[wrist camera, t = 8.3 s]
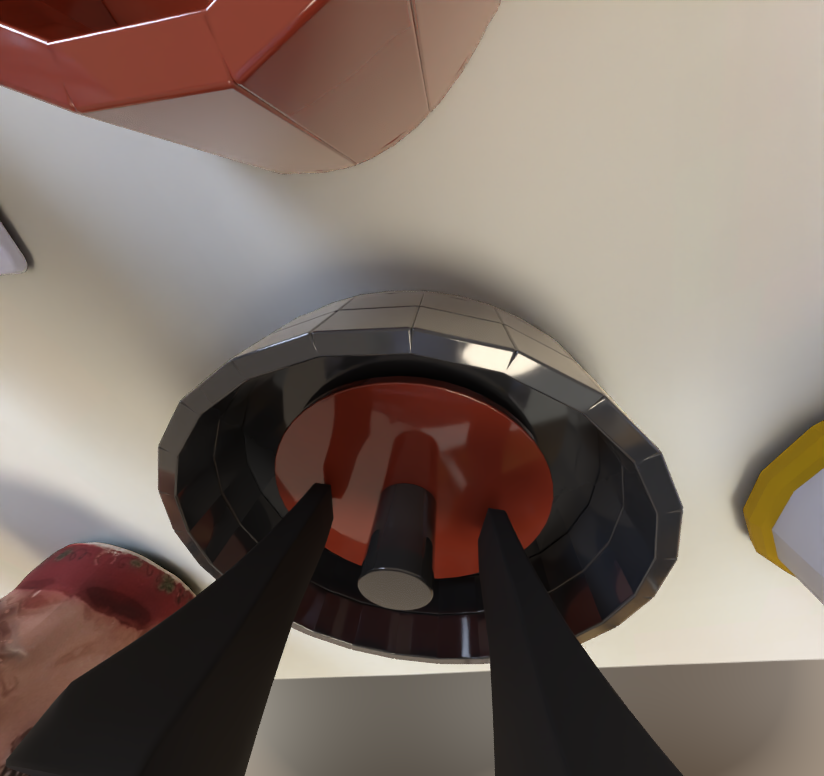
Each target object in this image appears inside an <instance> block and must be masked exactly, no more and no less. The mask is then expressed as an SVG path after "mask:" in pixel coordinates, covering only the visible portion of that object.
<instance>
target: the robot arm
mask: <svg viewBox="0 0 824 776" xmlns="http://www.w3.org/2000/svg"><path fill="white" fill-rule="evenodd" d="M26 269H27V262H26V260H25V258H24V256H23V254H22V253H21V251H20V250H19V248H18V247H17V245H16V244H15V242H14V241H13V239H12V238H11V236H10V235H9V233H8V232H7V230H6V229H5V227H4V226H3V224H2V223H1V221H0V275H9V274H18V273H23V272H26ZM333 519H334V516H333V505H332V493H331V485H328V484H321V483H315V484H313V485H312V486H311V488H310V489H309V490H308V491H307V492H306V493H305V495H304V496H303V497H302V498H301V499H300V500H299V501H298V502H297V504H296V505H295V506H294V507H293V508H292V509H291V510H290V511H289V512H288V513H287V514H286V515H285V517H284V518H283V519H282V520H281V521H280V522H279V523H278V524H277V525H276V526H275V527H274V528H273V529H272V530H271V531H270V532H269V533H268V534H267V535H266V536H265V537H264V538H263V539H262V540H261V541H260V542H259V543H257V544H256V545H255V546H254V547H253V548H252V549H251V550H250V551H249V552H248V553H247V554H246V555H245V556H244V557H243V558H241V559H240V560H239V561H238V562H237V563H236V564H235V565H234V566H232V567H231V568H230V569H229V570H228V571H227V572H225V573H224V574H223V575H222V576H221V577H219V578H218V579H217V580H216V581H215V582H213V583H212V584H211V585H210V586H208V587H207V588H206V589H205V590H203V591H202V592H201V593H199V594H198V595H197V596H196V597H194V598H193V599H192V600H191V601H189V602H188V603H187V604H185V605H184V606H183V607H181V608H180V609H179V610H177V611H176V612H174V613H173V614H172V615H170V616H169V617H167V618H166V619H165V620H163V621H162V622H160V623H159V624H158V625H156V626H155V627H153V628H152V629H151V630H149V631H148V632H146V633H145V634H144V635H142V636H141V637H139V638H138V639H136V640H135V641H133V642H132V643H131V644H129V645H128V646H126V647H124V648H123V649H121V650H120V651H118V652H117V653H115V654H114V655H112V656H111V657H109V658H107V659H106V660H104V661H103V662H101V663H100V664H98V665H97V666H95V667H94V668H92V669H91V670H89V671H87V672H86V673H84V674H83V675H81V676H80V677H78V678H77V679H75V680H73V681H72V682H71V683H70V684H69V685H68V686H67V688H66V689H65V690H64V691H63V692H62V693H61V694H60V695H59V696H58V697H57V699H56V700H55V701H54V702H53V703H52V704H51V706H50V707H49V708H48V709H47V711H46V712H45V713H44V714H43V716H42V717H41V718H40V719H39V720H38V722H37V723H36V724H35V725H34V727H33V728H32V729H31V730H30V731H29V733H28V734H27V735H26V736H25V738H24V739H23V740H22V741H21V742H20V744H19V745H18V746H17V747H16V749H15V750H14V751H13V752H12V753H11V755H10V756H9V757H8V758H7V760H6V765H5V766H6V767H8V768H10V769H13V770H16V771H19V772H22V773H25V774H28V775H31V776H244V775H245V772H246V769H247V765H248V762H249V758H250V755H251V751H252V748H253V745H254V741H255V738H256V735H257V731H258V728H259V725H260V721H261V718H262V715H263V712H264V709H265V706H266V702H267V699H268V696H269V693H270V689H271V686H272V683H273V680H274V677H275V674H276V671H277V668H278V665H279V662H280V659H281V656H282V653H283V650H284V647H285V644H286V641H287V638H288V635H289V632H290V629H291V626H292V623H293V621H294V618H295V616H296V613H297V610H298V608H299V606H300V603H301V601H302V599H303V596H304V594H305V592H306V589H307V587H308V585H309V582H310V580H311V578H312V575H313V573H314V571H315V568H316V566H317V564H318V561H319V559H320V557H321V554H322V552H323V550H324V547H325V545H326V541H327V538H328V535H329V532H330V529H331V525H332V522H333ZM478 562H479V575H480V583H481V591H482V598H483V605H484V613H485V620H486V628H487V635H488V643H489V653H490V668H491V684H492V685H491V686H492V706H493V728H494V754H495V755H494V756H495V776H683V775H682V774H681V772H680V771H679V770H678V769H677V768H676V767H675V765H674V764H673V763H672V762H671V761H670V760H669V758H668V757H667V756H666V755H665V753H664V752H663V751H662V750H661V749H660V747H659V746H658V745H657V744H656V743H655V741H654V740H653V739H652V738H651V736H650V735H649V734H648V733H647V731H646V730H645V729H644V728H643V726H642V725H641V724H640V723H639V721H638V720H637V719H636V718H635V716H634V715H633V714H632V713H631V711H629V709H628V708H627V706H626V705H625V704H624V702H623V701H622V700H621V698H620V697H619V696H618V694H617V693H616V692H615V690H614V689H613V688H612V686H611V685H610V684H609V682H608V681H607V680H606V678H605V677H604V676H603V675H602V673H601V672H600V671H599V669H598V668H597V667H596V665H595V664H594V662H593V661H592V660H591V658H590V657H589V655H588V654H587V652H586V651H585V650H584V648H583V647H582V645H581V644H580V642H579V641H578V639H577V638H576V636H575V635H574V633H573V632H572V630H571V629H570V628H569V626H568V624H567V623H566V621H565V620H564V618H563V617H562V615H561V614H560V612H559V610H558V609H557V607H556V606H555V604H554V602H553V601H552V599H551V597H550V596H549V594H548V592H547V591H546V589H545V587H544V585H543V584H542V582H541V580H540V578H539V577H538V575H537V573H536V571H535V569H534V567H533V566H532V564H531V562H530V560H529V558H528V556H527V554H526V552H525V551H524V549H523V547H522V545H521V543H520V541H519V539H518V536H517V534H516V532H515V530H514V528H513V526H512V524H511V522H510V519H509V517H508V515H507V513H506V511H505V510H499V509H492V508H488V511H487V514H486V517H485V520H484V523H483V526H482V529H481V532H480V535H479V538H478Z"/></svg>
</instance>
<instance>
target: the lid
mask: <svg viewBox="0 0 824 776" xmlns="http://www.w3.org/2000/svg"><path fill="white" fill-rule="evenodd" d="M274 472H275V479H276V485H277V488H278V491H279V495H280V497H281V499H282V501H283V503H284V505H285V507H286V509H287V510H288V512H289V511H290V510H291V509H292V508H293V507H294V506H295V505H296V504H297V502H298V501H299V500H300V499H301V498H302V497H303V496H304V495H305V493H306V492H307V491H308V490H309V489H310V488H311V486H312V485H313V484H315V483H321V484H328V485H331V493H332V505H333V516H334V519H333V522H332V525H331V529H330V532H329V535H328V538H327V541H326V545H325V548H327V549H328V550H330V551H331V552H333V553H335V554H337V555H338V556H340V557H342V558H344V559H346V560H348V561H351V562H353V563H355V564H357V565H360V566H361V570H360V574H359V578H358V588H359V591H360V592H361V594H362V595H363V596H364V597H365V598H367V599H368V600H369V601H371V602H373V603H375V604H377V605H379V606H382V607H386V608H390V609H395V610H414V609H418V608H421V607H424V606H426V605H427V604H429V603H430V601H431V600H432V598H433V595H434V579H437V578H452V577H460V576H465V575H471V574H475V573H478V572H479V562H478V538H479V535H480V532H481V529H482V526H483V523H484V520H485V517H486V514H487V511H488V508H492V509H499V510H505V511H506V513H507V515H508V517H509V519H510V522H511V524H512V526H513V528H514V530H515V532H516V534H517V536H518V539H519V541H520V543H521V545H522V547H523V549H524V550H525V549H526V548H527V547H528V546H529V545H530V544H532V542H533V541H534V540H535V539H536V538H537V537H538V535H539V534H540V533H541V531H542V529H543V528H544V526H545V525H546V523H547V520H548V518H549V515H550V512H551V509H552V503H553V480H552V476H551V472H550V468H549V466H548V463H547V461H546V459H545V456H544V454H543V452H542V450H541V447H540V446H539V444H538V443H537V441H536V440H535V438H534V437H533V435H532V434H531V432H530V431H529V430H528V429H527V428H526V427H525V426H524V425H523V424H522V423H521V422H520V421H519V420H518V419H517V418H516V417H515V416H513V415H512V414H511V413H510V412H508V411H507V410H506V409H505V408H503V407H502V406H500V405H498V404H497V403H495V402H493V401H492V400H490V399H489V398H487V397H485V396H483V395H481V394H478V393H476V392H474V391H472V390H469V389H467V388H465V387H461V386H458V385H455V384H452V383H448V382H445V381H440V380H435V379H429V378H424V377H411V376H386V377H375V378H370V379H364V380H358V381H355V382H352V383H349V384H346V385H342V386H339V387H337V388H335V389H333V390H331V391H329V392H327V393H325V394H322V395H321V396H319V397H318V398H317V399H315V400H314V401H312V402H311V403H309V404H308V405H307V406H306V407H305V408H304V409H303V410H302V411H301V412H300V413H299V414H298V415H297V416H296V417H295V418H294V420H293V421H292V422H291V424H290V425H289V426H288V428H287V429H286V431H285V432H284V434H283V436H282V438H281V440H280V442H279V444H278V448H277V452H276V456H275V469H274Z"/></svg>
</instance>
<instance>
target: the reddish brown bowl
mask: <svg viewBox="0 0 824 776" xmlns="http://www.w3.org/2000/svg"><path fill="white" fill-rule="evenodd" d="M500 3H501V0H0V86H3V87H5V88H8V89H11V90H13V91H16V92H19V93H21V94H24V95H27V96H30V97H32V98H35V99H38V100H40V101H43V102H46V103H48V104H51V105H54V106H57V107H59V108H62V109H65V110H67V111H70V112H73V113H76V114H79V115H82V116H86V117H89V118H93V119H96V120H99V121H103V122H106V123H110V124H113V125H116V126H120V127H123V128H126V129H130V130H133V131H137V132H140V133H143V134H147V135H150V136H154V137H157V138H160V139H164V140H167V141H170V142H174V143H177V144H181V145H184V146H187V147H191V148H194V149H197V150H201V151H204V152H208V153H211V154H214V155H218V156H221V157H225V158H228V159H231V160H235V161H238V162H241V163H245V164H248V165H252V166H255V167H258V168H262V169H265V170H269V171H272V172H275V173H279V174H280V173H281V174H292V173H325V172H330V171H335V170H339V169H344V168H349V167H351V166H356V165H357V164H360V163H361V162H364V161H367V160H369V159H372V158H373V157H375V156H377V155H378V154H380V153H382V152H383V151H385V150H387V149H389V148H390V147H392V146H394V145H395V144H396V143H398V142H399V141H400V140H401V139H403V138H404V137H405V136H406V135H407V134H409V133H410V132H411V131H412V130H414V129H415V128H416V127H417V126H418V125H419V124H420V123H421V122H422V121H423V120H424V119H425V118H426V117H427V116H428V115H429V114H430V112H432V111H433V109H434V108H435V107H436V106H437V105H438V104H439V103H440V102H441V100H442V99H443V98H444V96H445V95H446V93H447V92H448V91H449V89H450V88H451V87H452V85H453V84H454V83H455V81H456V80H457V78H458V77H459V76H460V74H461V73H462V71H463V70H464V68H465V66H466V64H467V63H468V61H469V59H470V58H471V56H472V54H473V52H474V51H475V49H476V47H477V45H478V44H479V42H480V40H481V39H482V37H483V35H484V32H485V30H486V28H487V26H488V24H489V22H490V21H491V19H492V18H493V16H494V15H495V13H496V12H497V10H498V6H499V5H500Z"/></svg>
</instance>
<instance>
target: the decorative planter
mask: <svg viewBox="0 0 824 776" xmlns="http://www.w3.org/2000/svg"><path fill="white" fill-rule="evenodd" d="M194 597H196V595H195V594H194V592H192V591H191V589H190V588H189V587H188V586H187V585H185V584H184V583H183V582H182V581H181V580H180V579H179V578H178V577H176V576H175V575H173V574H172V573H170V572H169V571H167V570H165V569H163V568H162V567H160V566H159V565H157V564H156V563H154V562H152V561H151V560H149V559H147V558H146V557H144V556H142V555H140V554H137V553H135V552H132V551H130V550H127V549H124V548H120V547H117V546H113V545H110V544H103V543H99V542H91V543H75V544H71V545H68V546H66V547H64V548H62V549H60V550H59V551H57V552H55V553H54V554H53V555H51V556H50V557H48V558H47V559H46V560H45V561H44V562H42V563H41V564H40V565H39V566H37V567H36V568H35V569H34V570H33V571H31V572H30V573H29V574H28V575H27V576H26V577H25V578H24V579H23V581H22V582H21V583H20V584H19V585H18V586H17V587H16V588H15V589H14V590H13V591H12V592H10V593H9V594H8V595H6V596H5V597H3V598H2V599H0V776H31V775H28V774H25V773H22V772H19V771H16V770H13V769H10V768H8V767H6V766H5V765H6V760H7V758H8V757H9V756H10V755H11V753H12V752H13V751H14V750H15V749H16V747H17V746H18V745H19V744H20V742H21V741H22V740H23V739H24V738H25V736H26V735H27V734H28V733H29V731H30V730H31V729H32V728H33V727H34V725H35V724H36V723H37V722H38V720H39V719H40V718H41V717H42V716H43V714H44V713H45V712H46V711H47V709H48V708H49V707H50V706H51V704H52V703H53V702H54V701H55V700H56V699H57V697H58V696H59V695H60V694H61V693H62V692H63V691H64V690H65V689H66V688H67V686H68V685H69V684H70V683H71V682H72V681H73V680H75V679H77V678H78V677H80V676H81V675H83V674H84V673H86V672H87V671H89V670H91V669H92V668H94V667H95V666H97V665H98V664H100V663H101V662H103V661H104V660H106V659H107V658H109V657H111V656H112V655H114V654H115V653H117V652H118V651H120V650H121V649H123V648H124V647H126V646H128V645H129V644H131V643H132V642H133V641H135V640H136V639H138V638H139V637H141V636H142V635H144V634H145V633H146V632H148V631H149V630H151V629H152V628H153V627H155V626H156V625H158V624H159V623H160V622H162V621H163V620H165V619H166V618H167V617H169V616H170V615H172V614H173V613H174V612H176V611H177V610H179V609H180V608H181V607H183V606H184V605H185V604H187V603H188V602H189V601H191V600H192V599H193V598H194Z"/></svg>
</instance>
